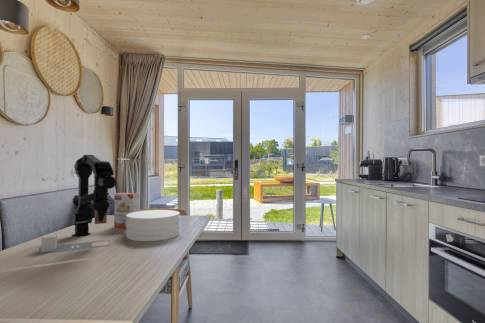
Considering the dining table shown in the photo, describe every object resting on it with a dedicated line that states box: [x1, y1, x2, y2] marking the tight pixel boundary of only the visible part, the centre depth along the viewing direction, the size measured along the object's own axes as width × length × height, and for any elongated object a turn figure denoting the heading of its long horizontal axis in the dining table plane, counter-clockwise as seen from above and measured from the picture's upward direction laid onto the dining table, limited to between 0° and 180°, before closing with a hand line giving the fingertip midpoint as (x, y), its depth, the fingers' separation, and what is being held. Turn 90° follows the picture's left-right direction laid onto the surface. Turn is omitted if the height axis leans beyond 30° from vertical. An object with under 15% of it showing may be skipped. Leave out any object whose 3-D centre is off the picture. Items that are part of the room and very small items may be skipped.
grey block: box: [40, 233, 58, 252], centre depth 120 cm, size 5×5×6 cm
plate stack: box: [125, 209, 181, 242], centre depth 151 cm, size 28×28×12 cm
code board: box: [35, 239, 111, 256], centre depth 124 cm, size 28×12×1 cm, turn 119°
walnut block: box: [94, 209, 108, 225], centre depth 129 cm, size 5×5×6 cm
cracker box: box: [113, 192, 140, 229], centre depth 168 cm, size 14×6×21 cm, turn 73°
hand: (100, 220), depth 129 cm, fingers closed on walnut block, 5 cm apart
